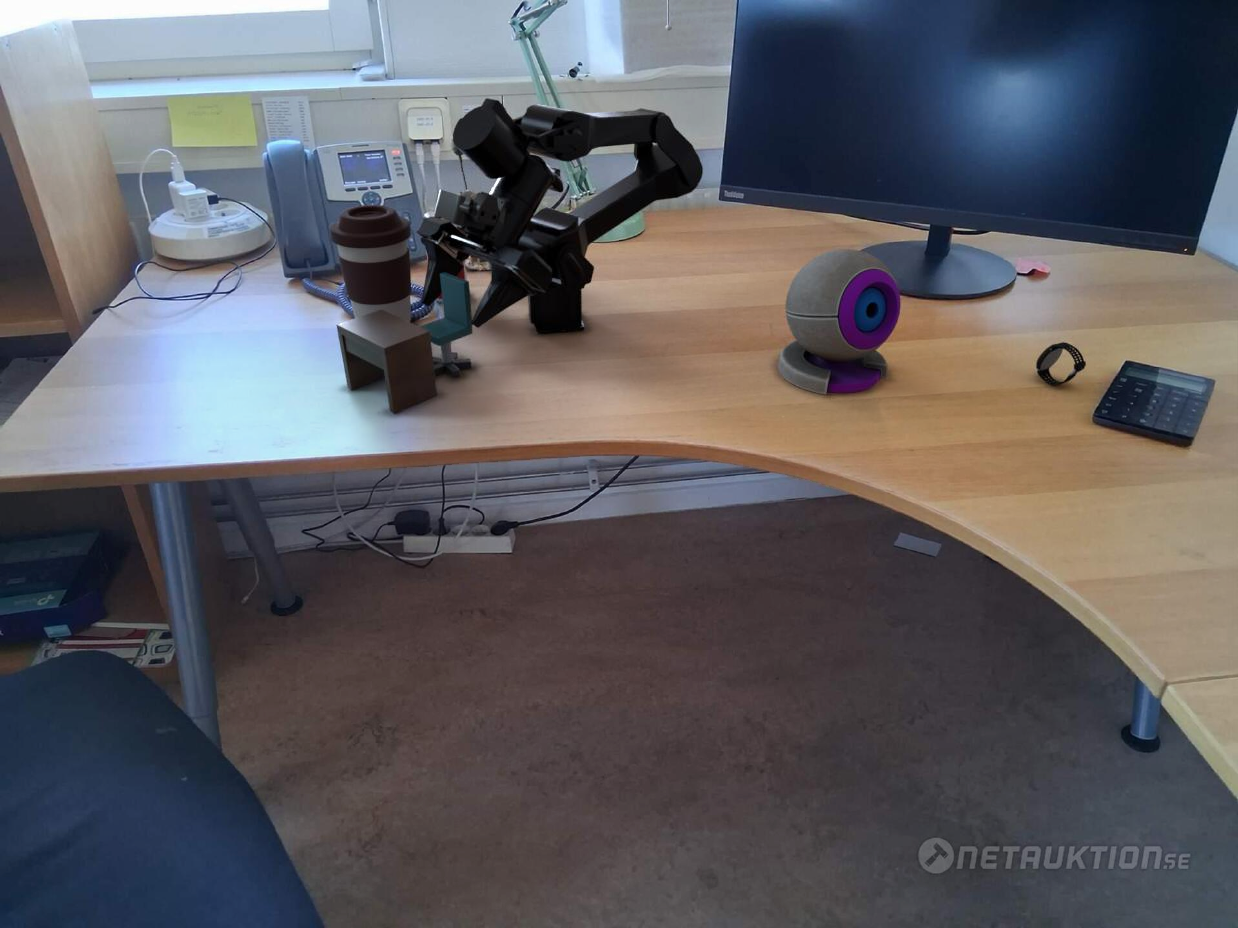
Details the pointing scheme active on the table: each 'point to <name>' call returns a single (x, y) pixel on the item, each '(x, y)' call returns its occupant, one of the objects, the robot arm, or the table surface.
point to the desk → (389, 357)
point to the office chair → (451, 324)
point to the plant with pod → (471, 261)
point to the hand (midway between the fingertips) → (448, 315)
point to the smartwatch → (1052, 356)
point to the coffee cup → (374, 259)
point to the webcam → (839, 322)
